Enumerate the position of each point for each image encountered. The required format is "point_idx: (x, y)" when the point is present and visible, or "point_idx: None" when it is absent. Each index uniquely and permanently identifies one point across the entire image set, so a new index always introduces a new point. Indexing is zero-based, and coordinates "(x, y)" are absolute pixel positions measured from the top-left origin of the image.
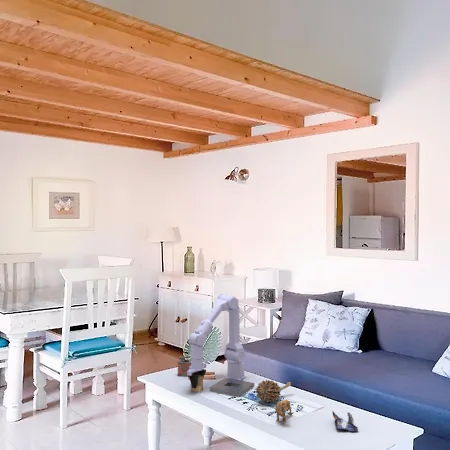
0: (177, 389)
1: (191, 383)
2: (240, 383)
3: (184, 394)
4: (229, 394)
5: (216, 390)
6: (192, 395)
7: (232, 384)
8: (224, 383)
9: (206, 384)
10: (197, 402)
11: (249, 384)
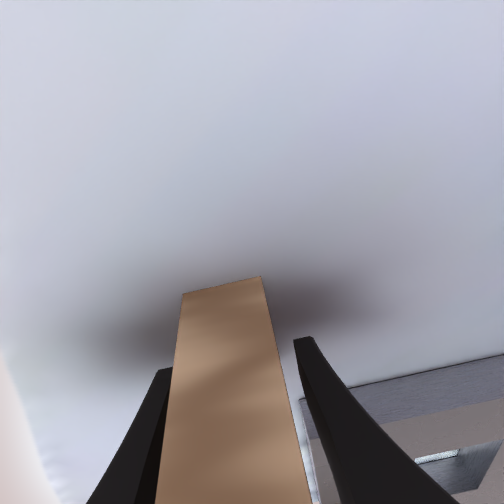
0: (39, 127)
1: (133, 434)
2: (501, 478)
3: (37, 331)
4: (316, 487)
5: (310, 452)
6: (103, 387)
7: (485, 444)
8: (462, 441)
9: (465, 273)
10: (50, 476)
11: (496, 501)
